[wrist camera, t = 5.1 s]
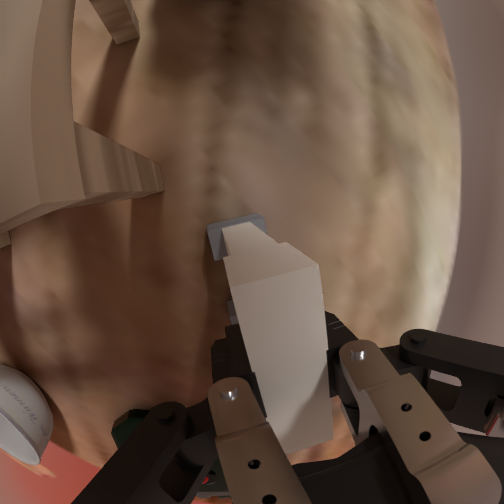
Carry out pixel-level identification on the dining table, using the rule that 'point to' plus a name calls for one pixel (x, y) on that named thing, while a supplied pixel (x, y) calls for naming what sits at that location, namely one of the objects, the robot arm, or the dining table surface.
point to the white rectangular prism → (279, 327)
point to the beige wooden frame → (57, 118)
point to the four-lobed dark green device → (214, 478)
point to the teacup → (23, 417)
